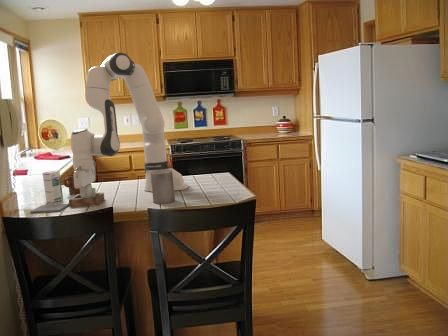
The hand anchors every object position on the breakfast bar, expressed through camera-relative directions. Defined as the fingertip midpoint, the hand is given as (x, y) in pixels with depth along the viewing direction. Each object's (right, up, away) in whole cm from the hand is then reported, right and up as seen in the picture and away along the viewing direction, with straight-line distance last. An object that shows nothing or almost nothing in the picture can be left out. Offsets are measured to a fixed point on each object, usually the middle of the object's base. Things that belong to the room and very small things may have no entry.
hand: (86, 194), depth 228 cm
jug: (0, -4, +1) cm, 4 cm away
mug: (-14, -1, +28) cm, 31 cm away
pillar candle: (+37, -3, -7) cm, 37 cm away
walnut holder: (0, -4, +1) cm, 4 cm away
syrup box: (-19, -4, +12) cm, 23 cm away
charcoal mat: (-14, -6, -7) cm, 17 cm away
